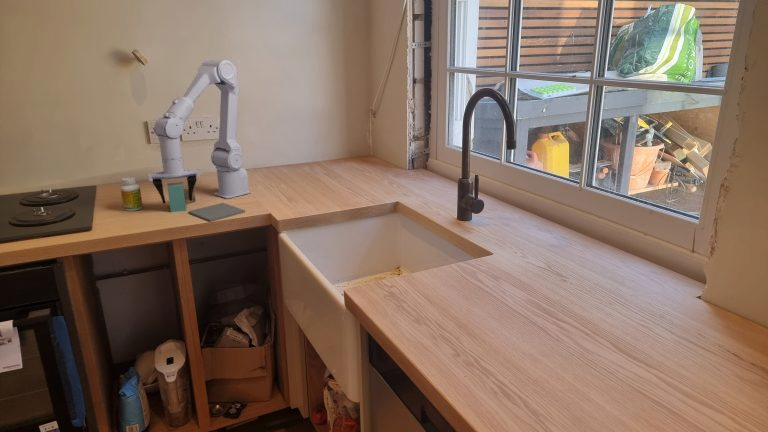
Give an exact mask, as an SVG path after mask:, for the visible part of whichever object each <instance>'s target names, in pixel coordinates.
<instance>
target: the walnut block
mask: <svg viewBox="0 0 768 432" xmlns="http://www.w3.org/2000/svg"><path fill="white" fill-rule="evenodd" d="M195 192H196V191H195V189H193V194H192V200H191V201H190V200H189V191H188V188H184V194H185V202H186V206H188V205H189V204H193V203H196V202H197V201H196V193H195Z"/></svg>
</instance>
